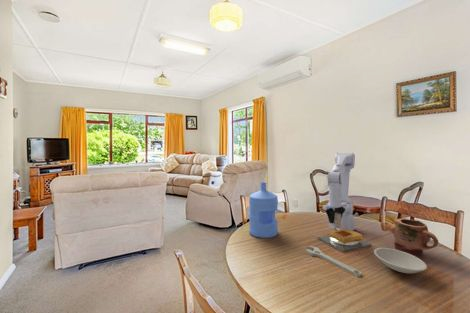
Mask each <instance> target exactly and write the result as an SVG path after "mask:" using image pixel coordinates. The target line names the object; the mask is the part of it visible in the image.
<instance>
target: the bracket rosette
mask: <svg viewBox="0 0 470 313" xmlns="http://www.w3.org/2000/svg"><path fill="white" fill-rule="evenodd" d="M363 237H364V236H363V234H362V233H359V232H357V231H354V230H349V229H347V228H346V229H340V230H337V229H335V230H331V231H328V235H322V236H318V237H317V240H319V241H321V242H322V243H324V244H326V245H328V246H330V247H332V248H334V249H336V250H337V251H339V252H342V253H347V252H351V251H356V250H359V249H364V248H369V247H371V246H372V243H370V242H368V241H365V240H364V239H363Z"/></svg>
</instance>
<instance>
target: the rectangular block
mask: <svg viewBox="0 0 470 313" xmlns="http://www.w3.org/2000/svg"><path fill="white" fill-rule="evenodd" d="M328 227H329V228H332V229H333V230H334V229H335V230H337V228H341V214H340V213H335V216H334V223H333V224H332V223H330V222H329V221H328Z"/></svg>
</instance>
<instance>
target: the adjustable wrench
mask: <svg viewBox="0 0 470 313" xmlns="http://www.w3.org/2000/svg"><path fill="white" fill-rule="evenodd" d="M305 253H306V254H307V255H310V256H311V257H317V258H321V259H322V260H325V261H327V262H328V263H330V264H332V265H334V266H335V267H338V268H340V269H341V270H344V271H346V272H347V273H350V275H351V274H352V275H353V276H356V277H361V276H362V271H360V270H359V269H356V268H354V267H352V266H351V265H348V264H345V263H344V262H342V261H340V260H338V259H336V258H333V257H331V256H330V255H327V254H325V253H324V252H323V251H321V250H320V248H318V247H316V246H311V245H308V248H306V249H305Z"/></svg>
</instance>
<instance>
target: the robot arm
mask: <svg viewBox="0 0 470 313" xmlns="http://www.w3.org/2000/svg"><path fill="white" fill-rule="evenodd" d="M355 156H356V155H355V153H354V152H352V153H351V152H350V153H349V152H336V153H335V157H334V161H335V164H334V165H333V167H332V169H331V171H329V172H328V173H327V186H328V202H327V203H326V204H324V205H322V210H323V211H325V213H326V215H327V218H328V223H329V222H330V223H332V224H333V223H334V216H335V213H340V214H341V228H337V229H336V230H340V229H346V228H347V229H349V230H352V231H354V230H356V229H355V217H354V215H353V212H354V206H353V204H354V203H353V200H352V199H351V198H350V197H349V186H350V174H351V170H352V169H354V168H355V166H356V164H355V163H356V157H355Z"/></svg>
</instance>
